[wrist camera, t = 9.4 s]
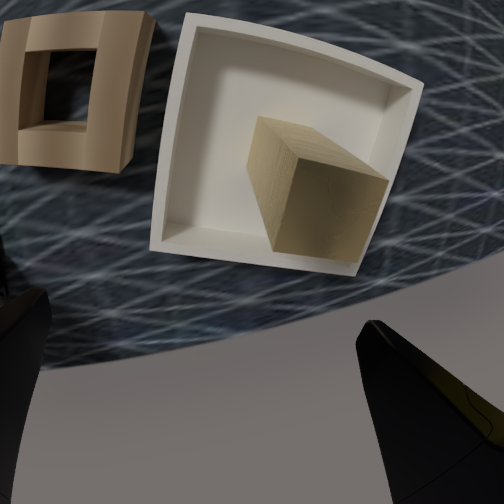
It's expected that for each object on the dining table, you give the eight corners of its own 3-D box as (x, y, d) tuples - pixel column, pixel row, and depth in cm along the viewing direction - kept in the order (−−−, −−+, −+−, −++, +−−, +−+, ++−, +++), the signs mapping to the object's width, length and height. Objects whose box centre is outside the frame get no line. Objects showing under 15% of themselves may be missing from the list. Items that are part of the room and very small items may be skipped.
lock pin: (246, 167, 18) (272, 251, 10) (257, 115, 16) (298, 157, 8) (297, 176, 18) (357, 263, 11) (310, 127, 17) (389, 180, 9)
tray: (157, 225, 19) (149, 250, 17) (191, 22, 14) (186, 12, 11) (339, 251, 22) (355, 276, 19) (396, 79, 16) (424, 83, 13)
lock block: (18, 149, 15) (-7, 163, 13) (31, 24, 12) (4, 21, 9) (133, 157, 17) (119, 173, 15) (155, 21, 13) (144, 11, 11)
